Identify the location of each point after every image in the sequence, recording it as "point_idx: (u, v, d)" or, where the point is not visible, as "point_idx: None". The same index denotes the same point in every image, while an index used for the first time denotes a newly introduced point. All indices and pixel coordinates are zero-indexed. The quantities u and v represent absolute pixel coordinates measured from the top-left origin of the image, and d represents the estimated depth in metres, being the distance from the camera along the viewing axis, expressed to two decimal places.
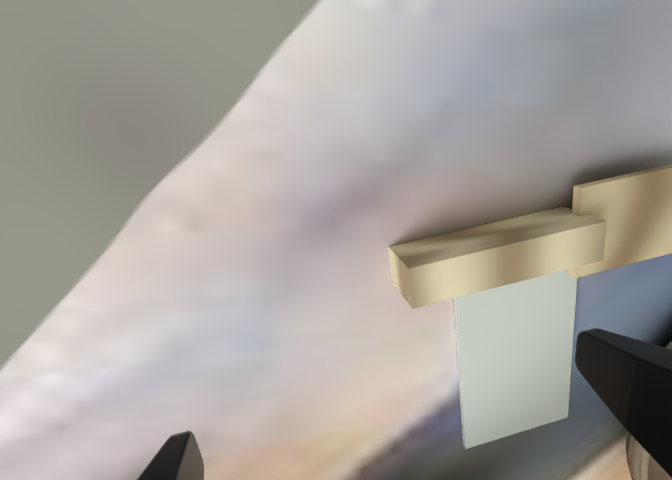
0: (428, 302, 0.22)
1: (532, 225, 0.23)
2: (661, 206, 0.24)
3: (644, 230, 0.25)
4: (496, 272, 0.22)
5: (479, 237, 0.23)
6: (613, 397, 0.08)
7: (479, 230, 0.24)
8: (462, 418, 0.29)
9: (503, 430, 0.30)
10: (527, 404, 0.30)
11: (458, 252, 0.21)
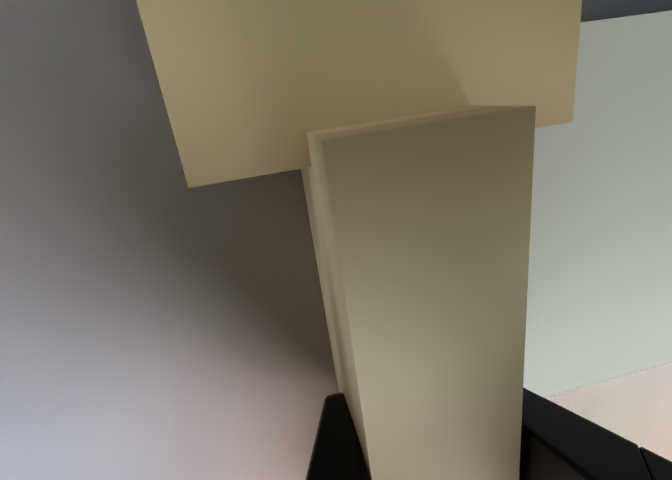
0: None
1: (336, 330, 0.07)
2: None
3: None
4: None
5: None
6: None
7: None
8: None
9: None
10: None
11: None
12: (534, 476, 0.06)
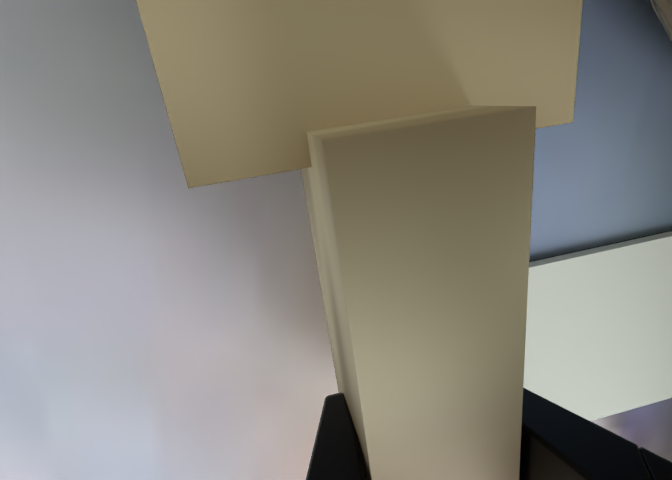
0: None
1: (336, 330, 0.07)
2: None
3: None
4: None
5: None
6: None
7: None
8: None
9: None
10: None
11: None
12: (534, 476, 0.06)
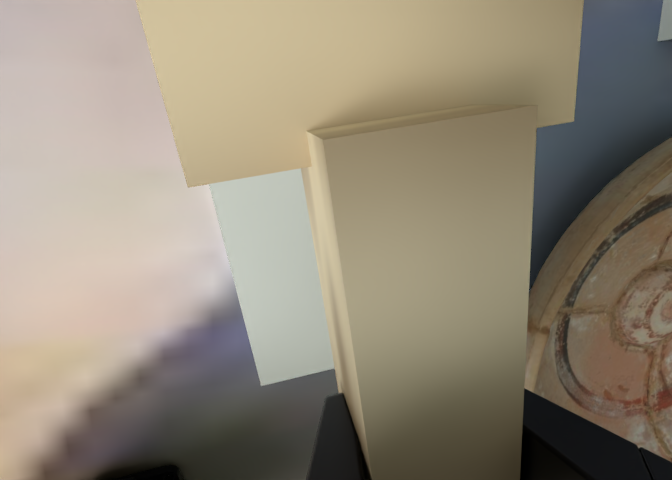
0: None
1: (336, 330, 0.07)
2: None
3: None
4: None
5: None
6: None
7: None
8: None
9: (321, 359, 0.20)
10: None
11: None
12: (534, 476, 0.06)
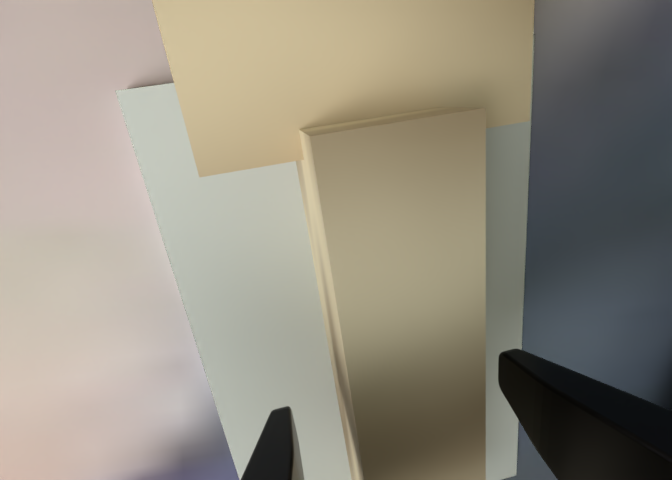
0: None
1: (327, 303, 0.08)
2: None
3: None
4: (440, 476, 0.08)
5: (347, 427, 0.09)
6: (528, 421, 0.08)
7: (336, 382, 0.10)
8: None
9: None
10: None
11: None
12: (596, 457, 0.06)
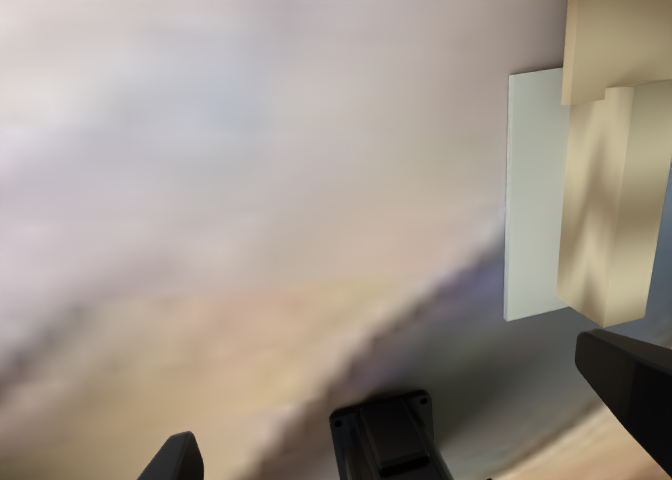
0: (644, 302, 0.20)
1: (593, 163, 0.19)
2: None
3: None
4: (642, 233, 0.19)
5: (585, 227, 0.20)
6: (613, 397, 0.08)
7: (573, 213, 0.21)
8: (506, 276, 0.23)
9: (556, 299, 0.24)
10: None
11: (601, 270, 0.20)
12: None
